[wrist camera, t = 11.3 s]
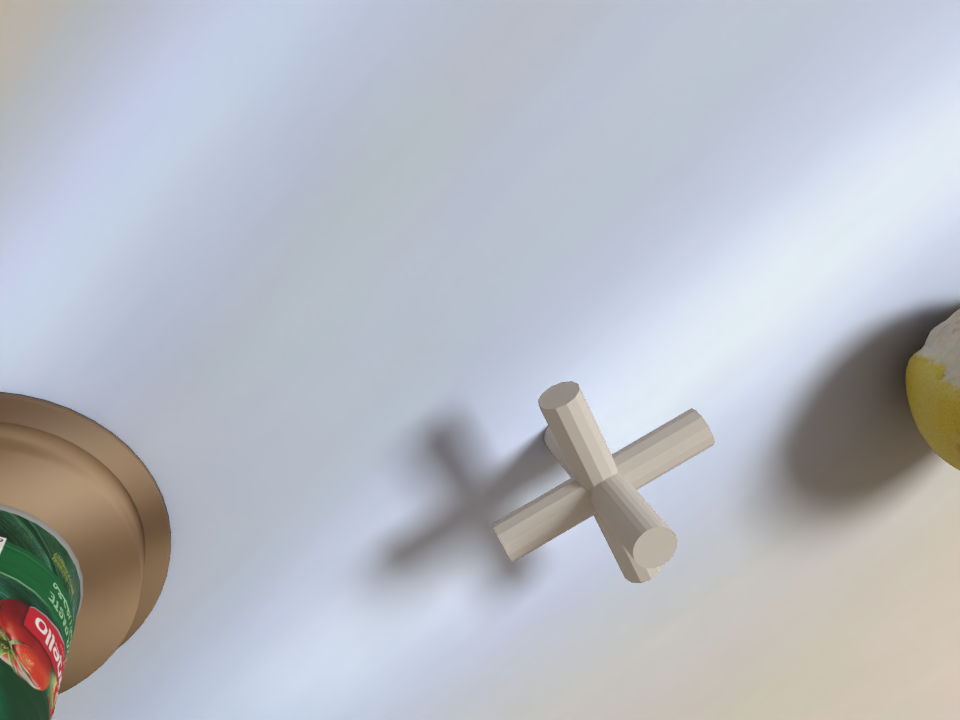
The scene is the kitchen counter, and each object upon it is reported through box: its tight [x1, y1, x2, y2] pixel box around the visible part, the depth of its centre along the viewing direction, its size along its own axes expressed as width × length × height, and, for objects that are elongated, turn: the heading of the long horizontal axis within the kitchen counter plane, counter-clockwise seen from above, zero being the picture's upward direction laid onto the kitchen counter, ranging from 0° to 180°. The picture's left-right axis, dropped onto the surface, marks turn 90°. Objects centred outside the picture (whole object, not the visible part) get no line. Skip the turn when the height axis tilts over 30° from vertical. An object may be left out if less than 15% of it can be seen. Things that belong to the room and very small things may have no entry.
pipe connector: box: [491, 381, 715, 583], centre depth 37 cm, size 10×10×10 cm
